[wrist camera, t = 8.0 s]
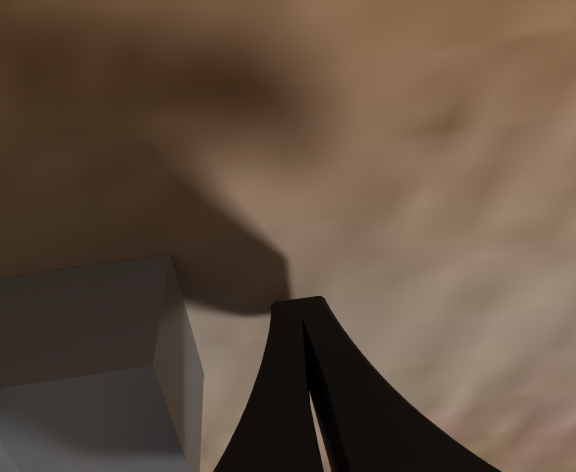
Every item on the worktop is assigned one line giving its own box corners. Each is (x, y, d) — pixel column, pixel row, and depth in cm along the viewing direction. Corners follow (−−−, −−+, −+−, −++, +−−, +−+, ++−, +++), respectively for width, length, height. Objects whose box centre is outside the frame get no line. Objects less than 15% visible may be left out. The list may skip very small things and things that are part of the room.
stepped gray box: (203, 369, 15) (196, 537, 11) (-26, 404, 15) (-122, 590, 11) (171, 250, 13) (145, 408, 9) (-104, 289, 13) (-267, 472, 8)
